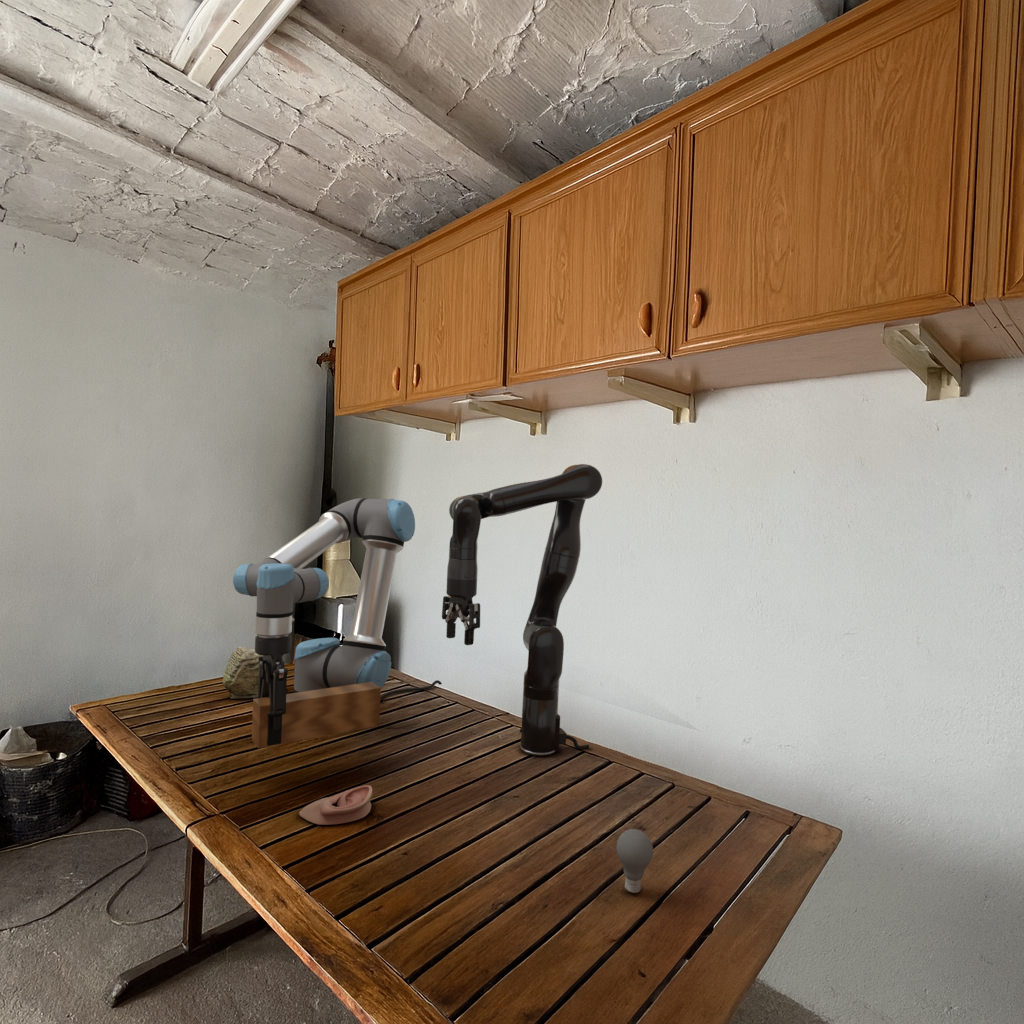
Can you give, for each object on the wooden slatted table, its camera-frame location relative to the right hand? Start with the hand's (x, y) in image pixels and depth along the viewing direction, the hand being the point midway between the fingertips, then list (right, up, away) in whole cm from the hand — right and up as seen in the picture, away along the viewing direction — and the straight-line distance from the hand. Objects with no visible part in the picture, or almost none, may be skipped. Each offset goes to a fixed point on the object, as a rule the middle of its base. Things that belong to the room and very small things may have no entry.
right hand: (459, 641), depth 158 cm
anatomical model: (-22, -28, -30) cm, 47 cm away
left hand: (-40, -18, -18) cm, 48 cm away
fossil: (-68, -25, +40) cm, 82 cm away
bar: (-32, -19, -12) cm, 39 cm away
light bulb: (+33, -31, -52) cm, 69 cm away
